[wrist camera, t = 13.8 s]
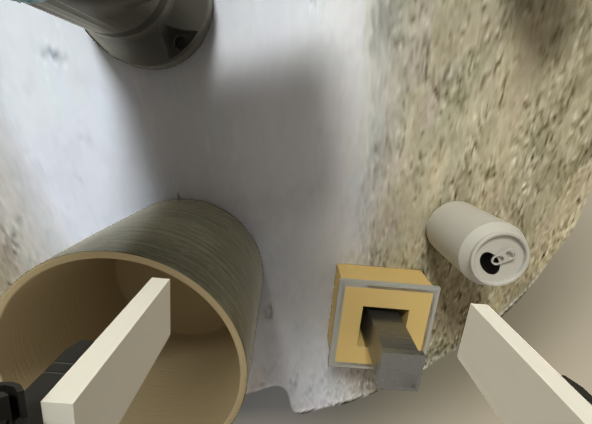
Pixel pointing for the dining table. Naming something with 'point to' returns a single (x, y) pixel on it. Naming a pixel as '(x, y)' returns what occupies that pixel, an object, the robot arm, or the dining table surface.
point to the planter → (126, 285)
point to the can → (478, 243)
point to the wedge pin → (391, 349)
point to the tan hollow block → (377, 293)
